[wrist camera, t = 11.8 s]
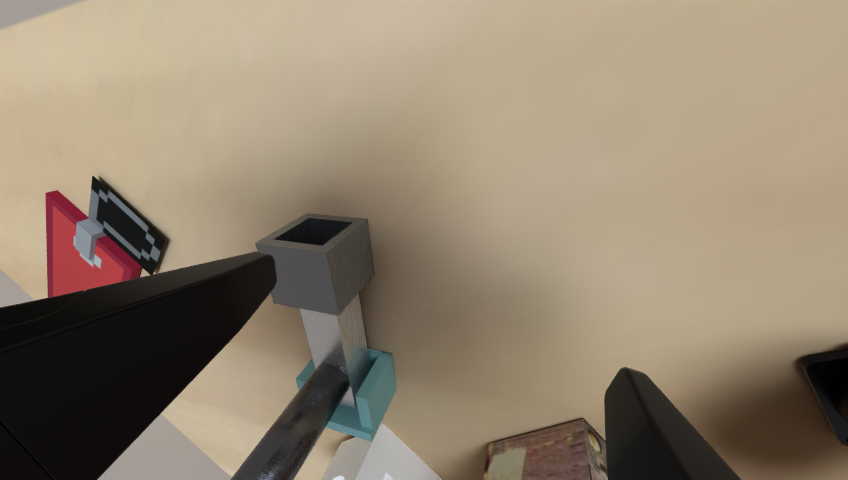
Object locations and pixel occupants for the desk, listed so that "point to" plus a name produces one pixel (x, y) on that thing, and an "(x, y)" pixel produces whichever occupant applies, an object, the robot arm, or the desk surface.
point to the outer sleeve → (320, 262)
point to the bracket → (377, 460)
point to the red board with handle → (96, 243)
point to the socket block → (363, 398)
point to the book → (549, 455)
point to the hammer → (314, 394)
